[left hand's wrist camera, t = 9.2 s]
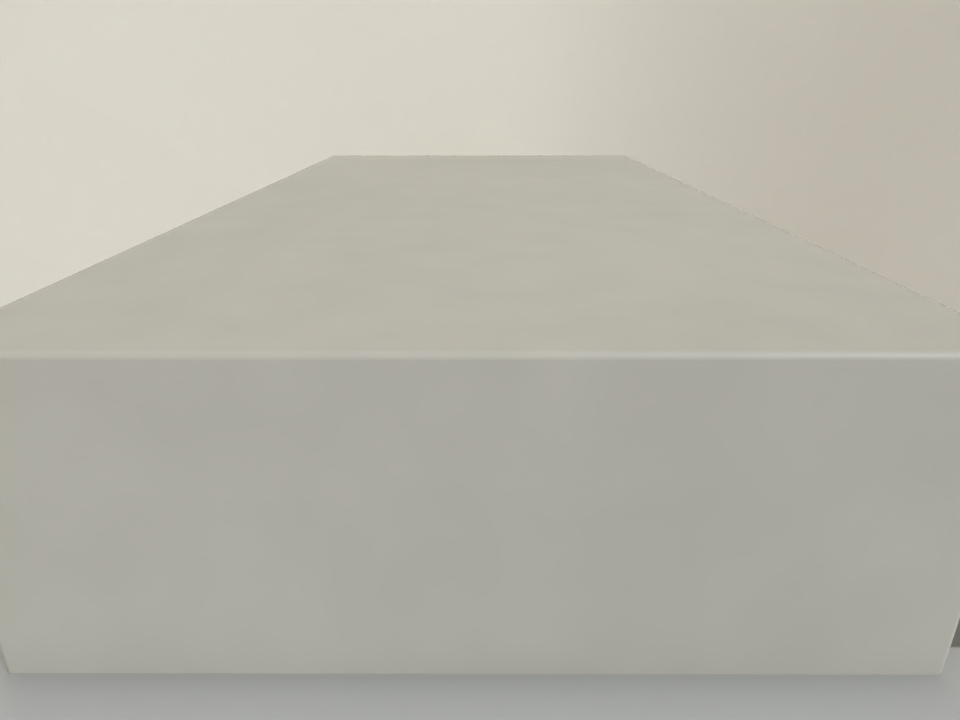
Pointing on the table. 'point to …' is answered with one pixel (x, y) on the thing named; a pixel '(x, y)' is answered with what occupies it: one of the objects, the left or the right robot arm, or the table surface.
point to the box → (478, 438)
